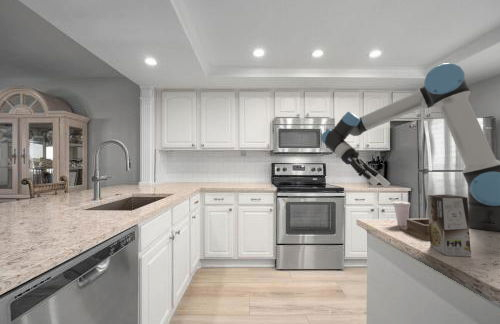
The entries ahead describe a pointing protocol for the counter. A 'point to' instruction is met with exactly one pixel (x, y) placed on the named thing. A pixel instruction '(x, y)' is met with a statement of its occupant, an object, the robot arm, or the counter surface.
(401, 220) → the smoothie
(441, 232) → the coffee box
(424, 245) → the counter surface
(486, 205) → the robot arm
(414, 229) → the caddy
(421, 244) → the counter surface
